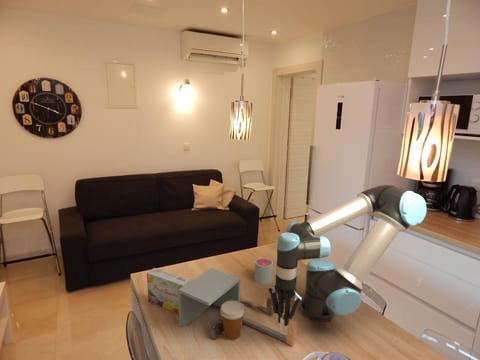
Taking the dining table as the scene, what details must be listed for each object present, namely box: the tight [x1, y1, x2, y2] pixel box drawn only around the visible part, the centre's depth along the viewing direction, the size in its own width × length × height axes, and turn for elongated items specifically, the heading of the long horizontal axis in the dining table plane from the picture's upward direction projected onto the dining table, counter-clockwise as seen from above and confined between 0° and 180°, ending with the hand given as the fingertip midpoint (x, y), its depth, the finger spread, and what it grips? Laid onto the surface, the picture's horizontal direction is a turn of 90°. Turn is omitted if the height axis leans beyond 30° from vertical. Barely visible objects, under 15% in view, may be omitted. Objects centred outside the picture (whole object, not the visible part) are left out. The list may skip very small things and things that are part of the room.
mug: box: [253, 257, 274, 286], centre depth 162 cm, size 14×9×10 cm
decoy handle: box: [240, 294, 275, 318], centre depth 138 cm, size 20×2×8 cm, turn 57°
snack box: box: [146, 267, 193, 315], centre depth 136 cm, size 21×6×15 cm, turn 62°
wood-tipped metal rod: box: [211, 316, 297, 347], centre depth 117 cm, size 27×16×8 cm, turn 57°
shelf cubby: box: [178, 267, 241, 329], centre depth 127 cm, size 15×21×17 cm
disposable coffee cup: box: [219, 301, 246, 341], centre depth 120 cm, size 10×10×12 cm
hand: (282, 331), depth 118 cm, fingers closed
